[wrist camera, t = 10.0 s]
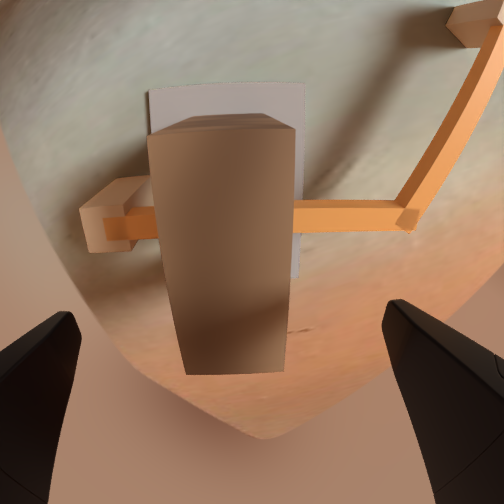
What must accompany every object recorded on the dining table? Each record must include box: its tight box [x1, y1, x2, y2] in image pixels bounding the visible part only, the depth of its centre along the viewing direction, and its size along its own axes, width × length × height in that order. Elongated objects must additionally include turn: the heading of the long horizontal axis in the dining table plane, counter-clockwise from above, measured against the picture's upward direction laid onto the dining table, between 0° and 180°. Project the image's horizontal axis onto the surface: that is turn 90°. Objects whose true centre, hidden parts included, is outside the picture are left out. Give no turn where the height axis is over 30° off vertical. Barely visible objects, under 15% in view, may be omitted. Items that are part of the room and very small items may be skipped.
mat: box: [149, 82, 305, 278], centre depth 19 cm, size 9×13×1 cm
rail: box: [79, 0, 504, 253], centre depth 14 cm, size 13×28×6 cm, turn 136°
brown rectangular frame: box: [147, 113, 296, 375], centre depth 14 cm, size 4×9×10 cm, turn 1°
